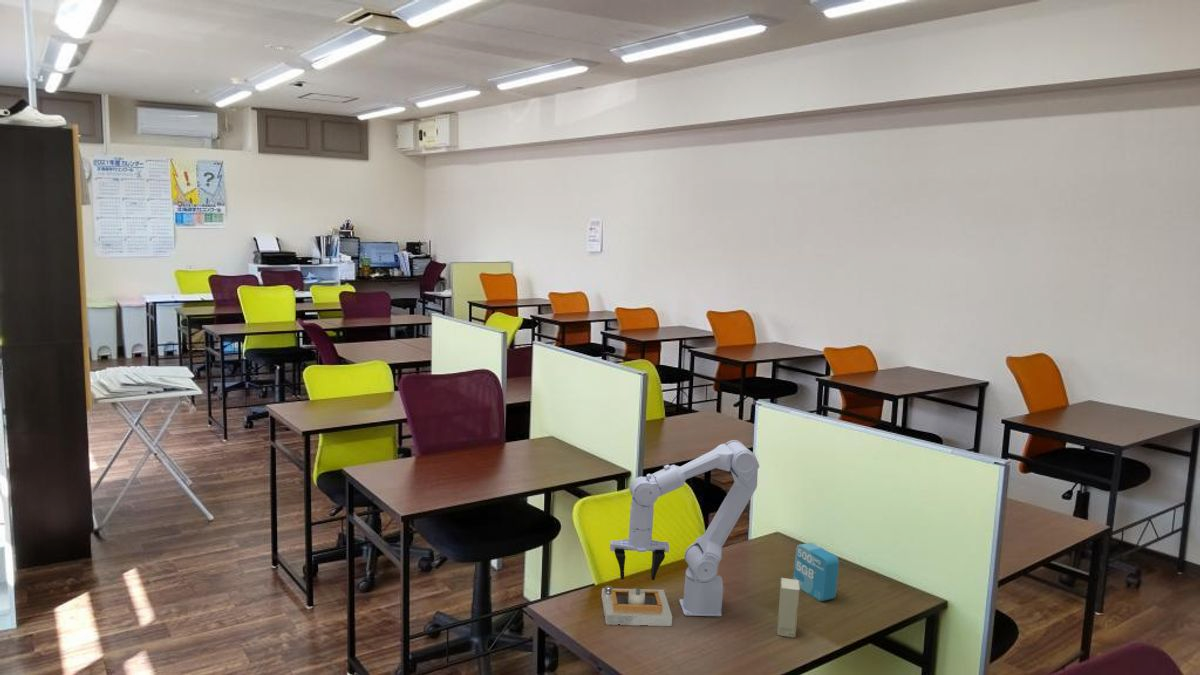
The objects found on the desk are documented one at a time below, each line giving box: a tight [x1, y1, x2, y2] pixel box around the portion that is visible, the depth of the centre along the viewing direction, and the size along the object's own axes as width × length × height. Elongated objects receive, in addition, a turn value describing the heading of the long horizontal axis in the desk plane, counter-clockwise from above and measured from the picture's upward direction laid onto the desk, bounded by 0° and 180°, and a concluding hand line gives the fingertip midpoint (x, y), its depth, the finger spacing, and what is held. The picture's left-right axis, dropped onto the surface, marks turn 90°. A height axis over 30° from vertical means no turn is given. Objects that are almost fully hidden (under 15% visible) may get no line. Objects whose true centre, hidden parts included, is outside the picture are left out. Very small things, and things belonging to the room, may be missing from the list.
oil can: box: [628, 588, 645, 605], centre depth 201 cm, size 4×4×6 cm
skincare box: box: [776, 577, 801, 638], centre depth 196 cm, size 6×4×12 cm
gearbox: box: [601, 585, 673, 627], centre depth 202 cm, size 16×14×4 cm
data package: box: [792, 542, 840, 602], centre depth 218 cm, size 12×4×12 cm, turn 27°
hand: (637, 578), depth 201 cm, fingers open, 7 cm apart
